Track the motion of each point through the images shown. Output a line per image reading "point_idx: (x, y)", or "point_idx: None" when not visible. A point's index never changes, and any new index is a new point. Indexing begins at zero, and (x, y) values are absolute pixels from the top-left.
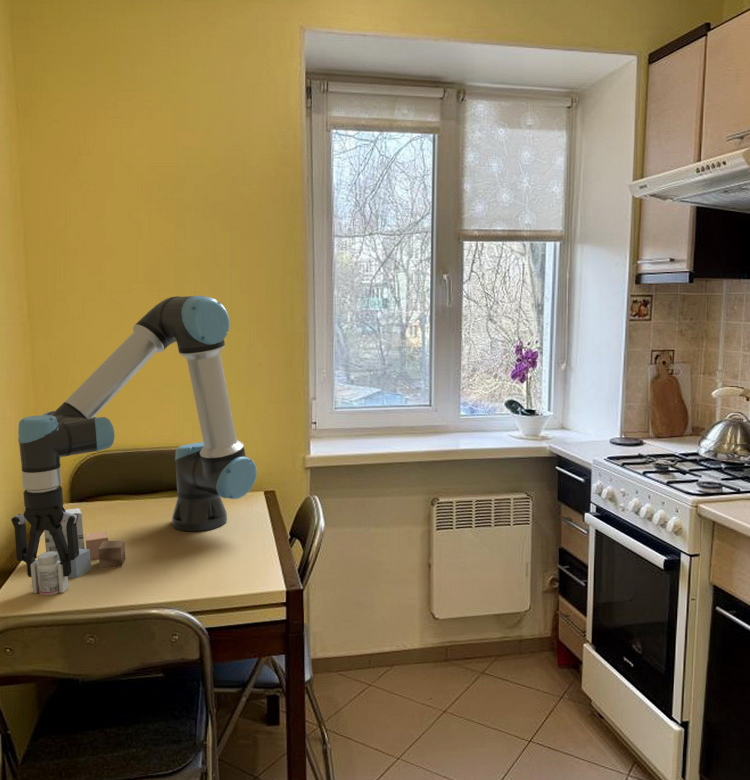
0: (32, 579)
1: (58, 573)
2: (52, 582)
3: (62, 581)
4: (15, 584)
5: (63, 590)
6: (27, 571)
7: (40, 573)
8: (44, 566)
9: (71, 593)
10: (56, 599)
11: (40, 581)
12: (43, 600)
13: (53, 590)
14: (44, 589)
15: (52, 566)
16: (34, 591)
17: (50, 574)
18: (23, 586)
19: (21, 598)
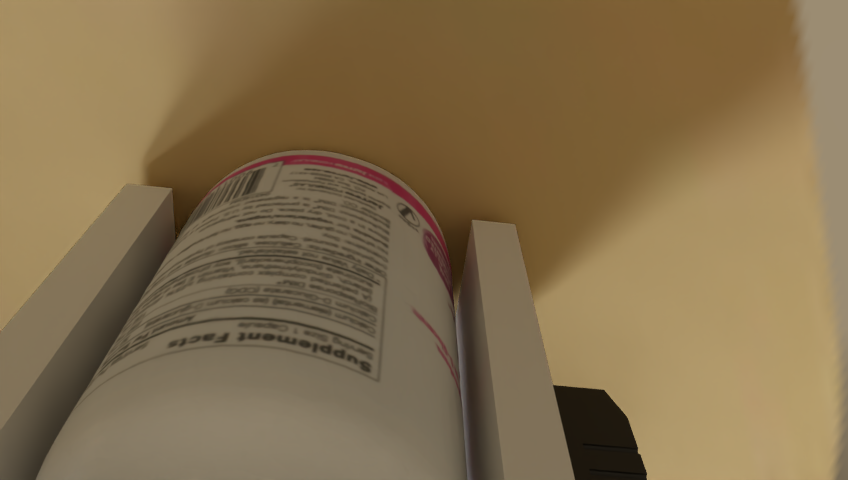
0: (528, 331)
1: (48, 352)
2: (196, 243)
3: (63, 267)
4: (763, 456)
5: (120, 204)
6: (639, 463)
7: (355, 346)
8: (240, 460)
9: (27, 168)
10: (131, 9)
11: (379, 261)
12: (303, 4)
13: (225, 185)
14: (330, 180)
15: (76, 459)
16: (495, 230)
17: (168, 320)
18: (672, 408)
19: (623, 114)
